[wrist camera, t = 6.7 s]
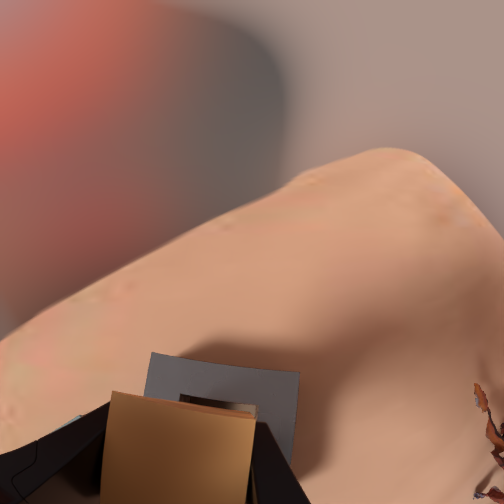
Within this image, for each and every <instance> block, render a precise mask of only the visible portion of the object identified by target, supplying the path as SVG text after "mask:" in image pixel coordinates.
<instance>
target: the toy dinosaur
mask: <svg viewBox="0 0 504 504" xmlns="http://www.w3.org/2000/svg"><path fill="white" fill-rule="evenodd" d="M474 386H475V392H474V394H475V393H476V397H477V398H475V400H476V406H477V407H479V408H481V409H482V413H483V412H486V411H488V415H489V419H488V423H487V428H486V437H487V438H488V439H490V441H491V442H492V443H493V444H494V445H495V450H493V451H492V452H491V453H492V455H493V456H494V458H495V460H496V461H497V462H498V463H499V465H500V466H501V467H502V468H503V469H504V457H503V458H502V457H501V456H500V455H499V453H501V452H503V451H504V423H502V424H501V427H502V428H500V429H501V434H503V435H502V436H501V435H500V434H499V433H498V431H497V429H496V426H495V424H494V423H493V421H492V419H491V412H490V409H489V407H488V400H487V399H486V394H485V393H484V391H482V390H481V388H480V386H479V385H478V384H476V383H474ZM485 496H487V497H488V496H489V497H490V499H492V500H493V501H494V502H498V503H500V504H504V493H502V492H501V491H500V490H499V489H498V488H497V487H496V486H494V487H492V488H491V489H490V491H489V492H488V493H487V494H485V493H480V494H479V493H477V492H476V493H475V494H474V497H476V499H478V498H484V497H485ZM473 499H474V498H473Z"/></svg>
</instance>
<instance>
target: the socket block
mask: <svg viewBox="0 0 504 504" xmlns="http://www.w3.org/2000/svg"><path fill="white" fill-rule="evenodd" d="M299 377H300V372H290V371H277V370H265V369H255V368H246V367H238V366H230V365H223V364H216V363H209V362H203V361H196V360H191V359H185V358H179V357H174V356H169V355H164V354H159V353H154V352H152V353H151V358H150V363H149V369H148V374H147V379H146V385H145V390H144V396H143V397H150V398H156V399H163V400H171V401H179V402H186V403H190V397H191V396H193V397H199V398H205V399H211V400H217V401H224V402H232V403H240V404H248V405H256V413H255V419H256V421H262V422H266V423H267V424H268V426H269V428H270V430H271V432H272V434H273V436H274V438H275V439H276V441H277V443H278V445H279V447H280V449H281V451H282V453H283V455H284V457H285V458H286V460H287V462H288V464H289V466H290V464H291V457H292V448H293V440H294V431H295V421H296V411H297V401H298V389H299Z"/></svg>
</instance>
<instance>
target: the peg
mask: <svg viewBox="0 0 504 504" xmlns="http://www.w3.org/2000/svg"><path fill="white" fill-rule="evenodd" d="M255 423H256V419H255V418H254V417H253V416H252V414H251V413H250V412H245V411H236V410H228V409H221V408H215V407H208V406H202V405H197V404H191V403H186V402H179V401H171V400H163V399H156V398H150V397H143V396H137V395H132V394H126V393H121V392H116V391H112V395H111V401H110V407H109V414H108V420H107V428H106V435H105V443H104V452H103V463H102V475H101V491H100V504H245V499H246V492H247V485H248V477H249V470H250V462H251V455H252V447H253V439H254V431H255Z"/></svg>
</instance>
